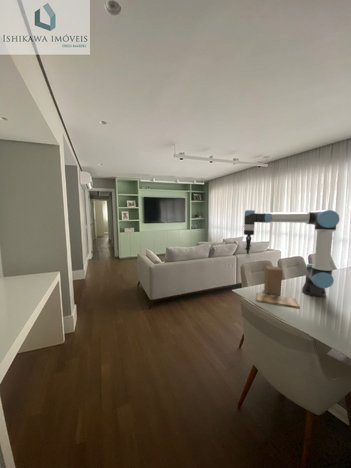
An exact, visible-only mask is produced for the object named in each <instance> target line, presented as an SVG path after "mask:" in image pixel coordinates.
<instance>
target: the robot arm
mask: <svg viewBox="0 0 351 468" xmlns="http://www.w3.org/2000/svg"><path fill="white" fill-rule="evenodd" d="M243 223H244V225H243V227H244V228H243V229H244V230H243V235H245V236H246V237H245V240H246V241H245V243H246V244H245V246H246V247H245V248H244V250H245V258H246V259H250V255H251V247H252V245H251V242H252V236H254V235H255V223H262V224H263V223H265V224H266V223H267V224H268V223H291V224H292V223H294V224H295V223H296V224H298V223H299V224H301V223H304V224H306V225H312V226H313V225H314V230H315V231H316V240H315V241H316V242H315V251H314V253H315V254H314V263H308V264H306V268H305V269H306V271H305V281H304V284H303V286H302V288H301V291H302V293H304V294H305V295H307V296H311V297H315V298H325V297H326V296H327V291H326V289H327V288H331V286H332V285H333V284H334V281H335V280H334V276H333V269H332V267H331V256H332V246H333V245H332V244H333V234H334V232H335V231H336V230H337V225H338V224H339V223H340V215H339V214H338V212H336V211H335V210H333V209H320V210H316V211H315V210H313V211H307V212H256V210H254V209H246V210H245V211H244V221H243Z"/></svg>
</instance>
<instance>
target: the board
mask: <svg viewBox="0 0 351 468" xmlns="http://www.w3.org/2000/svg"><path fill="white" fill-rule="evenodd" d="M256 302H259V303H265V304H270V305H278V306H283V307H289V308H296V309H300V307H301V306H300V305H299V302H298V300H297V298H294V297H288V296H280V295H274V294H267V293H260V292H257V293H256Z"/></svg>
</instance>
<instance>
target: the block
mask: <svg viewBox="0 0 351 468" xmlns="http://www.w3.org/2000/svg"><path fill="white" fill-rule="evenodd" d="M282 279H283V269H281V268H280V267H279V266H271V265H270V266H269V265H266V266H265V270H264V287H263V288H264V289H263V290H264V291H265V294H268V295H275V296H280V295H282Z"/></svg>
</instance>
